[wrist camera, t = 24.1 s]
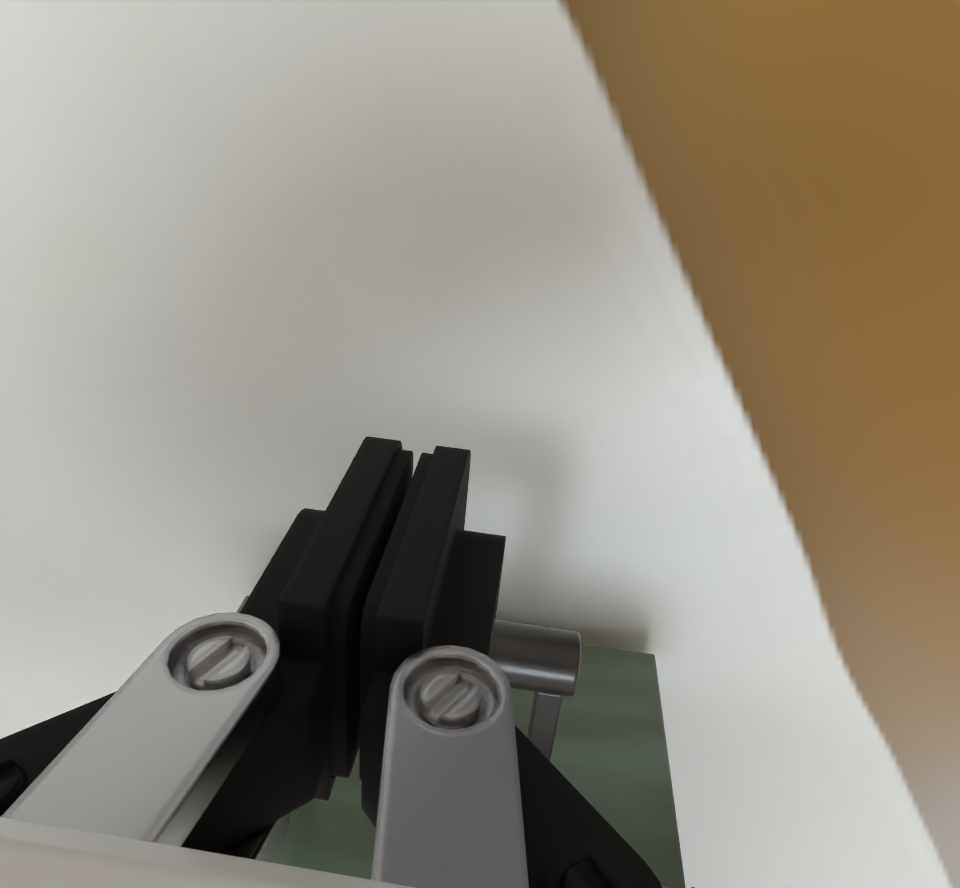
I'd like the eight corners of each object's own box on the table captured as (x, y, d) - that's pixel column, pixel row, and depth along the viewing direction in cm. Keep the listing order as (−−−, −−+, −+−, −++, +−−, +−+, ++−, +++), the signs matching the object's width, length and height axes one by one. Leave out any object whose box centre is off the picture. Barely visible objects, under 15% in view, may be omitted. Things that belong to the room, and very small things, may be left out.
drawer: (233, 446, 22) (43, 667, 14) (695, 506, 21) (766, 777, 13) (271, 884, 33) (176, 1147, 25) (577, 936, 32) (579, 1224, 24)
